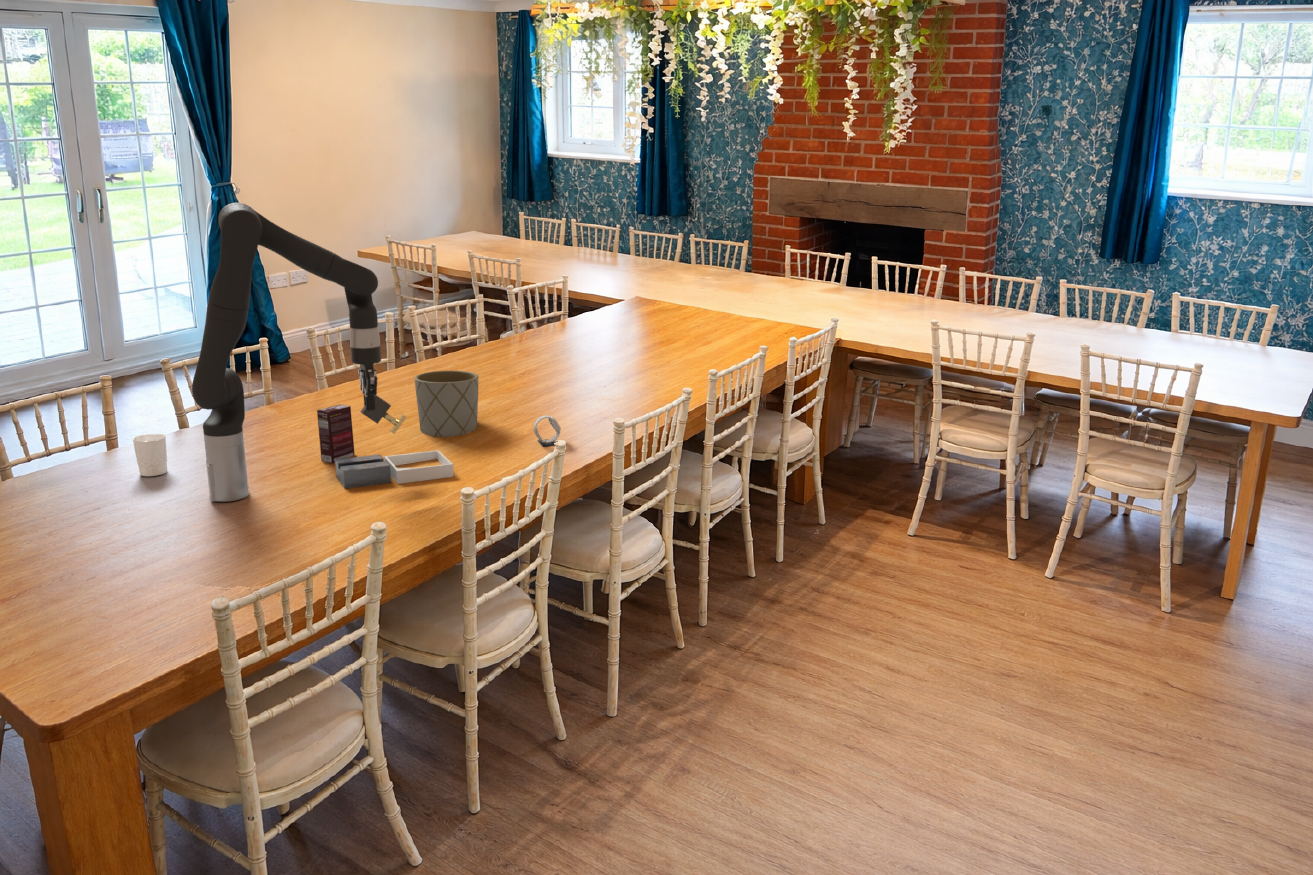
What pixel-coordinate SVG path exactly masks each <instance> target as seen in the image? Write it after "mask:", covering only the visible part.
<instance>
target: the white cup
mask: <svg viewBox="0 0 1313 875" xmlns="http://www.w3.org/2000/svg"><path fill="white" fill-rule="evenodd" d="M166 438H167V437H166V435H165V434H163V433H146V434H142V435H138V436H134V437H133V438H132V443H133V447H134V453H135V458H136V463H137V466H138V472H139V475H140V476H142V477H153V476H160V475H164V474H166V473H167V472H168V464H167V463H168V455H167V440H166Z"/></svg>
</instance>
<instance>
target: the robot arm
mask: <svg viewBox="0 0 1313 875" xmlns="http://www.w3.org/2000/svg"><path fill="white" fill-rule="evenodd" d="M218 226H219V228H220V229H219V230H220V256H219V264H218V268H217V270H216V272H215V276H214V278H213V281H212V283H211V287H210V290H209V295H208V299H207V307H206V313H205V323H204V329H203V330H204V331H203V335H202V341H201V349H200V353H199V357H198V361H197V364H196V367H195V372H194V375H193V380H192V386H191V391H192V397H193V399H194V402H195V403H196V405H197V406H199V408H201V409H203V410H211V412H210V414H209V416H208V417H207V418H206V419H205V420H204V421H203V424H202V429H203V430H202V432H203V439H204V450H205V458H206V460H205V462H206V473H207V482H208V491H209V498H210V502H233V501H238V500H239V501H240V500H241V499H242V500H243V499H245V498H247V497H248V496H249V495H250V490H249V482H248V481H249V480H248V470H247V469H248V468H247V460H246V451H245V438H244V429H243V424H244V421H245V416H246V414H245V413H246V411H245V410H246V409H245V392H244V385H243V382H242V379H241V377H240V375H239V374H238V373H237V372H236V371H235V370H234V369H232V368H228V367H227V366H228V362H229V359H230V356H231V353H232V352H233V350H234V348H235V347H236V345H237V343H238V342H239V340H240V338H241V337H242V335H243V333H244V331H245V329H246V326H247V322H248V315H249V309H250V300H251V290H252V275H253V274H252V272H253V265H254V263H255V262H254V261H255V258H256V254H257V250H258V246H261V247H263V248H265V249H267V250H269V251H271V252H272V253H275V254H277V255H278V256H281V257H283V258H284V259H285V260H287V261H288V262H290V263H292V264H293V265H295V266H297V267H299V268H301V269H302V270H303V271H306V272H308V273H310V274H312V275H315V276H317V277H318V278H321V279H323V280H326V281H329V282H333V283H335V284H337V285H339V286H340V287H342V288H343V290H344V292H345V293H344V294H345V299H346V303H347V305H348V306H347V307H348V317H349V320H348V321H349V343H350V347H349V348H350V360H351V361H350V362H351V363H352V364H354V365H359V368H358V369H357V373H358V374H357V375H358V380H359V384H360V390H361V393H362V395H363V407H364V406H365V405H366V409H367V410H368V411H372V410H375V397H374V396H375V395H377V394H378V393H377V392H378V376H377V370H376V369H375V368H374V365H375V364H379V363H381V361H382V353H381V352H382V350H381V337H380V332H379V320H378V311H377V307H376V306H375V305H374V302H373V294H374V293H375V292H376V290H377V289H378V288H379V287H378V286H379V280H378V277H377V275H376V273H375V272H373V270H371V269H369V268H367V267H365V266H362V265H360V264H358V263H355V262H353V261H350V260H347V259H346V258H344V257H341V256H340V255H338V254H337V253H334V252H333V251H331V250H328V249H326V248H325V247H322V246H321V245H318V244H316V243H314V242H312V241H310V240H308V239H305V238H303V237H301V236H298V235H297V234H294V233H292V232H290V231H288V230H286V229H284V228H283V227H281V226H280V225H278V224H276V223H274V222H273V221H271V220H269V219H268V218H266V217H264V216H263V215H262V214H261V213H259V212H257V211H256V210H254V209H253V207H251V206H250V205H247V204H246V203H242V202H232V203H229V204H227V205H225V206H224V207H222V209H221V210H220V212H219V214H218ZM377 396H378V395H377Z"/></svg>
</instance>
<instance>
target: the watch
mask: <svg viewBox="0 0 1313 875" xmlns="http://www.w3.org/2000/svg"><path fill="white" fill-rule="evenodd" d="M545 419H548V422H549V424H550V425H551V427H552V428H553V430H554V431H555V432H556V433H555V434H554V436H553V437H552V438H550V439H548V438H547V439H543V438H542V437H541V435H540V433H539V430H538V424H539V423H540V422H541V421H542V420H545ZM561 429H562V428H561V426H560V424H559V423H558V421H557V420H556V418H555V417H554V416H553V415H551V416H550V415H547V414H546V415H540V416H538V417H537V418H536V419H535V421H534V423H533V432H534V435H535V436H536V438H537V442H538V443H539V444H540V446H541V447H542V448H545V447H553V446H555V445H554V442H556V440H557V439H558V438H559V437H560V434H561Z"/></svg>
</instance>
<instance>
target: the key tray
mask: <svg viewBox="0 0 1313 875" xmlns="http://www.w3.org/2000/svg"><path fill="white" fill-rule="evenodd" d="M383 458H384V461H386V462H387V463H388V464H389V465H390V475H391V479H393V480H394V481H395V483H396V484H398V485H399V484H407V483H415V482H422V481H432V480H438V479H446V478H447V479H448V478H453V477H454V476H455V475H454V463H453V462H452V461H451V460H449V459H448V458H447V457H446V455H443V453H442V452H441V451H440V450H430V451H429V450H428V451H419V452H410V453H404V454H403V453H402V454H394V455H393V454H391V455H385V456H383ZM431 460H437V461H438V462H439V463H440V464H439V465H438V464H437V465H429V466H420V467H396V466H402V465H406V464H407V465H408V464H412V463H413V464H414V463H419V462H425V461H431Z"/></svg>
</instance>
